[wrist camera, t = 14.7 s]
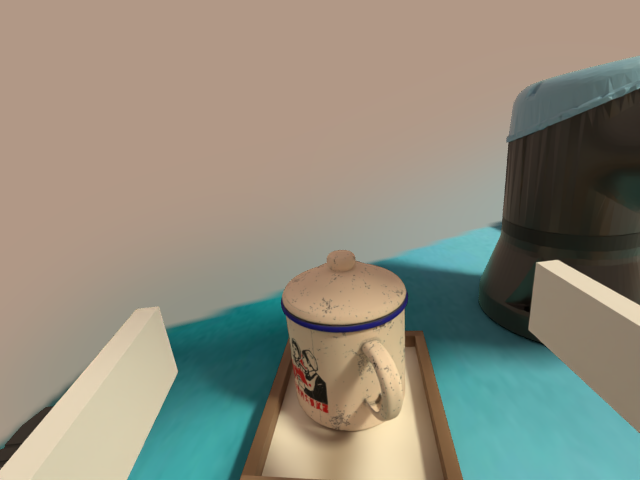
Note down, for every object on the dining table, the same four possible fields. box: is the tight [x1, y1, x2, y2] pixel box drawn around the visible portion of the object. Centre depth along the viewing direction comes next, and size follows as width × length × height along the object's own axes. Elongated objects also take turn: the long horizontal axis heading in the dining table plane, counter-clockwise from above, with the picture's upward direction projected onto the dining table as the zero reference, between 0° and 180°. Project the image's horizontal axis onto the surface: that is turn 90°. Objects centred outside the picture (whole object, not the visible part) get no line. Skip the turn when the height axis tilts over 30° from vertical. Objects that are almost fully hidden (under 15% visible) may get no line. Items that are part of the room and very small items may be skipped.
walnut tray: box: [240, 331, 463, 480], centre depth 27 cm, size 13×16×2 cm
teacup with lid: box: [281, 250, 408, 431], centre depth 25 cm, size 12×9×12 cm
